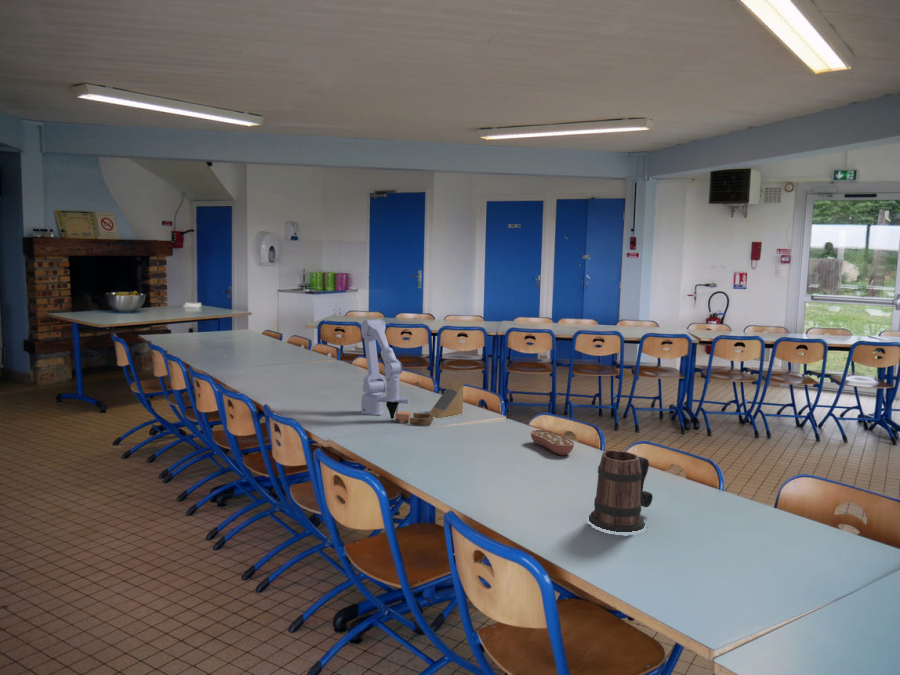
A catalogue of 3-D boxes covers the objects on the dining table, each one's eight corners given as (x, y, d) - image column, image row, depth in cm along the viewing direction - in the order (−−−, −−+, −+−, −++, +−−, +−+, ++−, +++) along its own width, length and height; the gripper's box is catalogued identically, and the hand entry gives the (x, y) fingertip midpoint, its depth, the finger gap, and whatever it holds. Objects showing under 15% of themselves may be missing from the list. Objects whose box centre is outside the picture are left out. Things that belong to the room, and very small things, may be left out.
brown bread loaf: (525, 442, 262) (526, 430, 261) (546, 440, 266) (547, 428, 265) (558, 459, 241) (558, 446, 240) (579, 456, 245) (580, 444, 245)
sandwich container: (426, 415, 302) (426, 384, 300) (450, 411, 312) (451, 380, 310) (437, 419, 295) (438, 387, 293) (462, 414, 305) (463, 383, 303)
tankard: (622, 541, 171) (626, 468, 169) (573, 520, 184) (577, 452, 182) (673, 521, 185) (678, 454, 183) (625, 503, 199) (629, 440, 196)
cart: (395, 422, 286) (395, 408, 285) (397, 419, 292) (398, 405, 291) (408, 423, 286) (408, 409, 285) (410, 420, 292) (411, 406, 291)
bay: (409, 424, 283) (409, 418, 283) (413, 419, 293) (413, 412, 293) (429, 425, 282) (430, 419, 282) (433, 420, 292) (433, 413, 292)
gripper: (374, 389, 285) (374, 419, 286) (407, 391, 283) (406, 421, 284) (378, 386, 291) (378, 415, 293) (410, 388, 290) (409, 417, 291)
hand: (392, 418), depth 289 cm, fingers closed
